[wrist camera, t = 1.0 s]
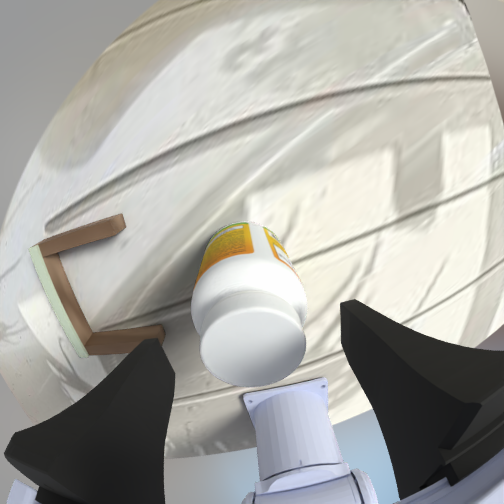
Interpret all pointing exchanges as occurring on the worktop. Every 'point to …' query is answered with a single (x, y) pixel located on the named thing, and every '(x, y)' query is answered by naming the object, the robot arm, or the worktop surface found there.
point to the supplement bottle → (249, 307)
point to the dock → (66, 301)
